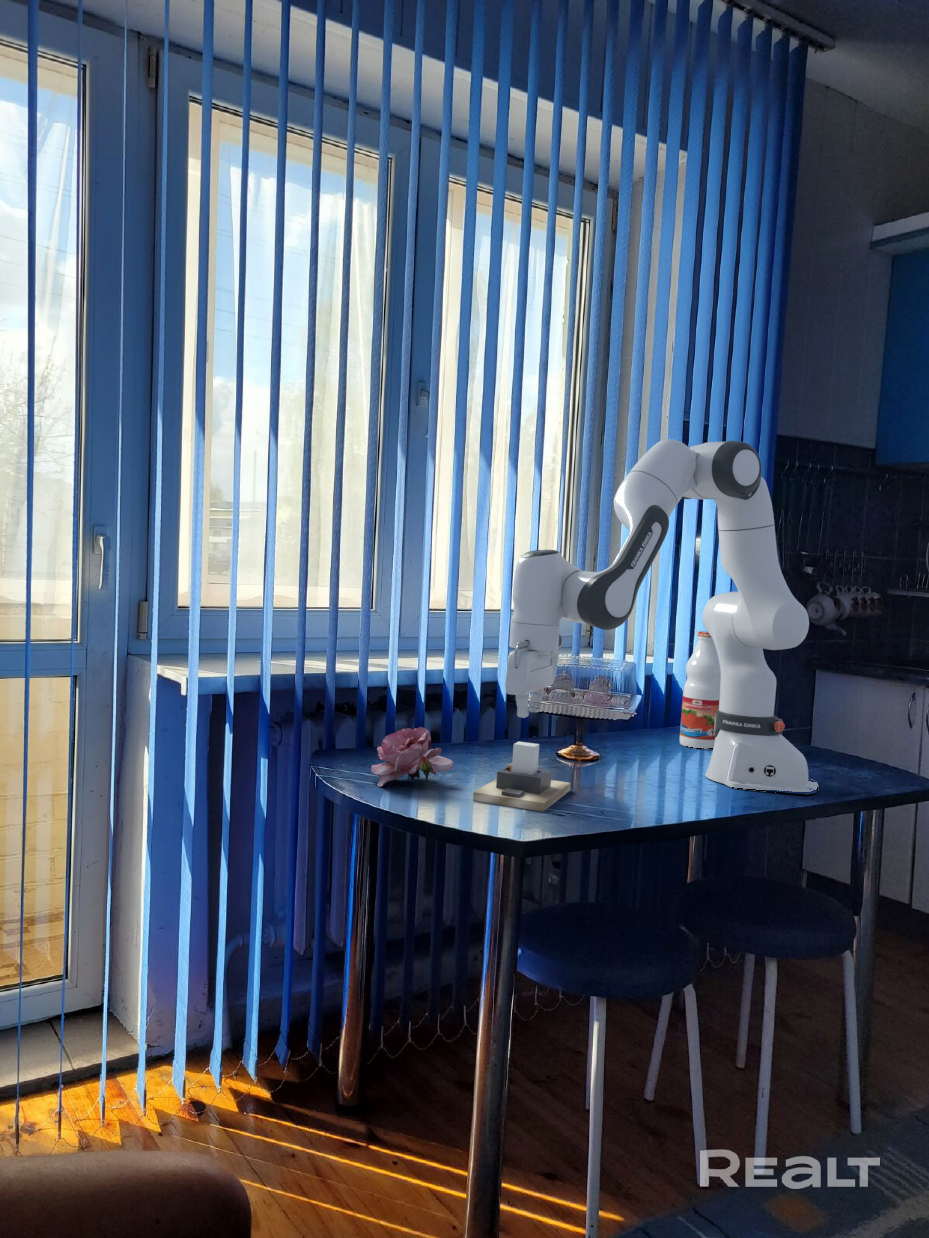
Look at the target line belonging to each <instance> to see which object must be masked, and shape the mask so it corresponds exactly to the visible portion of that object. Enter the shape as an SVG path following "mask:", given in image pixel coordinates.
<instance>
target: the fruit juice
mask: <svg viewBox="0 0 929 1238" xmlns="http://www.w3.org/2000/svg"><path fill="white" fill-rule="evenodd" d="M696 636H697V637H696V638H697V639H698V640H697V643H696V645H695V648H694V650H693V652H692V654H691V656H690V657H689V659H688V660H687V662H686V663H685V664H686V665H685V673H686V681H685V683H684V685H683V692H682V704H681V713H680V714H681V717H680V728H679V730H680V731H679V744H680V745H681V746H684V747H686V746H688V747H687V748H690V747H693V748H692V749H696V748H702V749H701V750H709V749H708V748H714V743H715V732H714V727H715V716H716V712H717V710H718V709H719V700H720V683H721V671H720V663H719V658H718V654H717V650H716V647H715V644H714V641H713V639H712V637H711V635H710V634H709V633H708V632H707V631H703V630H702V631H699V630H698V631H697V633H696ZM703 748H704V749H703Z"/></svg>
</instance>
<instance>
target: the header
mask: <svg viewBox="0 0 929 1238" xmlns="http://www.w3.org/2000/svg"><path fill="white" fill-rule="evenodd" d="M496 773H497V774H496V779H497V783H496V788H499V789H507V788H510V789H517V790H523V791H524V792H526V793H532V794H539V795H540V794H541V793H542V792H544V791H545V790H547V789H548V788H549V787H551V780H552V770H549V769H544V768H538V771H537V774H536V775H529V774H523V773H516V772H510V764H508V765H506V766H505V767H503V768H501V769H499V770H498V771H497V772H496Z"/></svg>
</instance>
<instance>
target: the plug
mask: <svg viewBox="0 0 929 1238" xmlns="http://www.w3.org/2000/svg"><path fill="white" fill-rule="evenodd" d="M512 747H513V748H512V759H511V760H512V761H511V762H512V763H510V764H509V765H510V772H516V773H523V774H529V775H536V774H537V771H538V769H539V755H540V744H539V743H534V742H525V741H517V742H515V743H513V746H512Z"/></svg>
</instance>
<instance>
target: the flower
mask: <svg viewBox="0 0 929 1238" xmlns="http://www.w3.org/2000/svg"><path fill="white" fill-rule="evenodd" d="M430 734H431V733H430V732H429V730H428V729H427V728H425V727H422V726H419V727H417V728H413V729H412V728H409V727H408V728H401V729H399V730H397V731H395V732H394V733H390V734H388V735H385V736H384V738H383V739H382V741H381V746H377V748H376V750H377V753H378V754H377V756H378V759H380V760H382V761H384V762H382V763H378V764H373V765H371V768H370V770H371V771H370V772H371V773H372V774H374V775H377V776H378V777H379V778H378V779H379V780H378V782H377V784H376V785H377V787H380V788H381V787H383V786H384V785H386V784H387V783H388V782H389V783H390V782H391V781H395V780H397V779H400V778H403V777H404V776H406V775H407V776H408V778H407V781H409V779H411V781H410V784H413V781H414V779H415V778H417V779H418V780H420V777H421V776H420V774H421V773H420V771H422V772H423V775H424V776H425V788H427V786H428V778H429V776H430V773H431V774H433V775H435V776H436V775H437V772H439V773H443V772H444V773H445V772H449V771H451V769H452V768H453V766H454V761H453V760H452V759H450V758H447V757H444V756H441V755H440V754H441V753H442V748H441V747H436V748H431V745H432V738H431V735H430Z"/></svg>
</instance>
